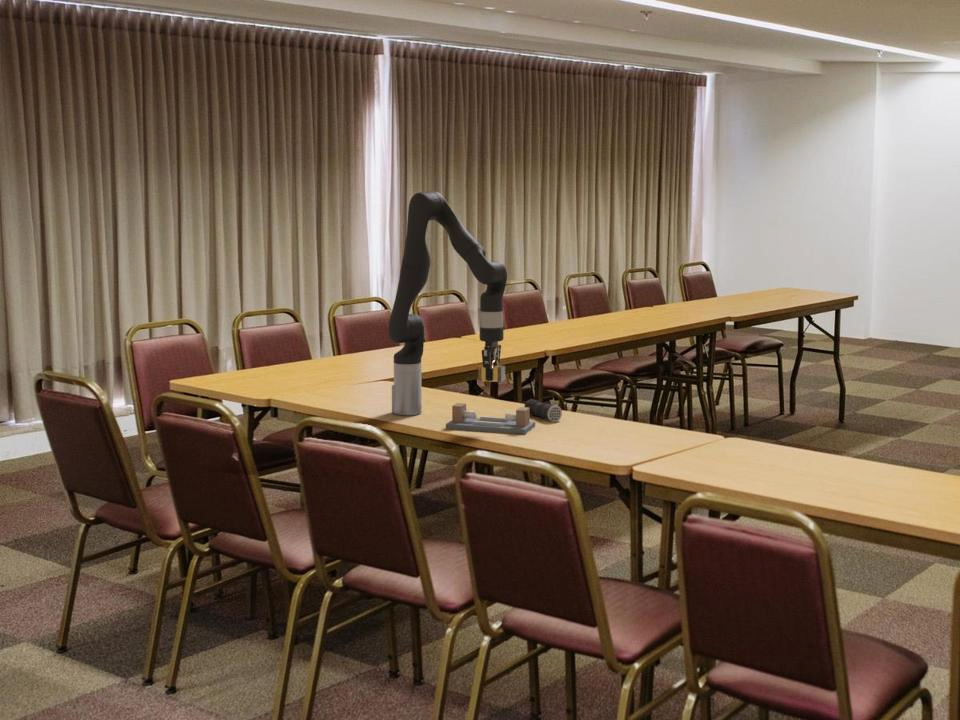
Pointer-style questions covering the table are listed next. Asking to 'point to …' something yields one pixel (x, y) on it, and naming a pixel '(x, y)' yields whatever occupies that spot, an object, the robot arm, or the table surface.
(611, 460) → the table surface
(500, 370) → the coupler
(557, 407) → the flashlight
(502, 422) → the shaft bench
